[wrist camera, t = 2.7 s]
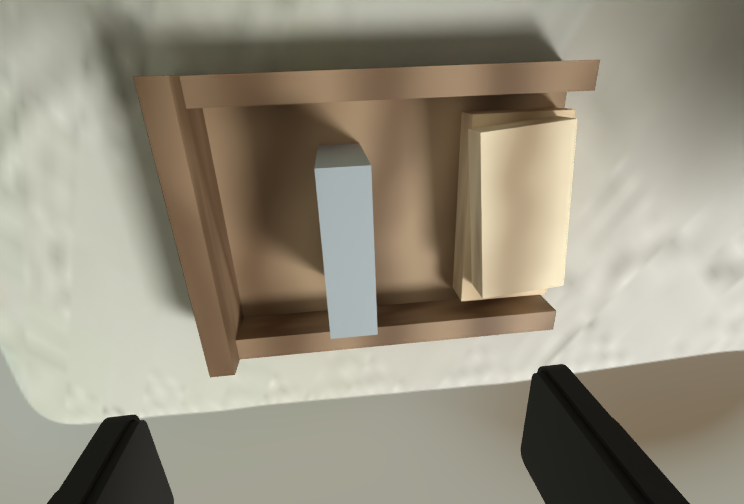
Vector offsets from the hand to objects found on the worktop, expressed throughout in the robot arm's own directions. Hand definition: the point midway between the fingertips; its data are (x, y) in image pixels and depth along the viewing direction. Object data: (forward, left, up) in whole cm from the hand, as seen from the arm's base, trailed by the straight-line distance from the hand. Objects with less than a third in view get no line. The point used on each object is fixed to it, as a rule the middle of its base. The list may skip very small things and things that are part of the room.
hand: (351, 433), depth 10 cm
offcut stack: (-11, 0, -17) cm, 20 cm away
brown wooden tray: (-2, 0, -18) cm, 18 cm away
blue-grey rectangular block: (0, 0, -17) cm, 17 cm away
